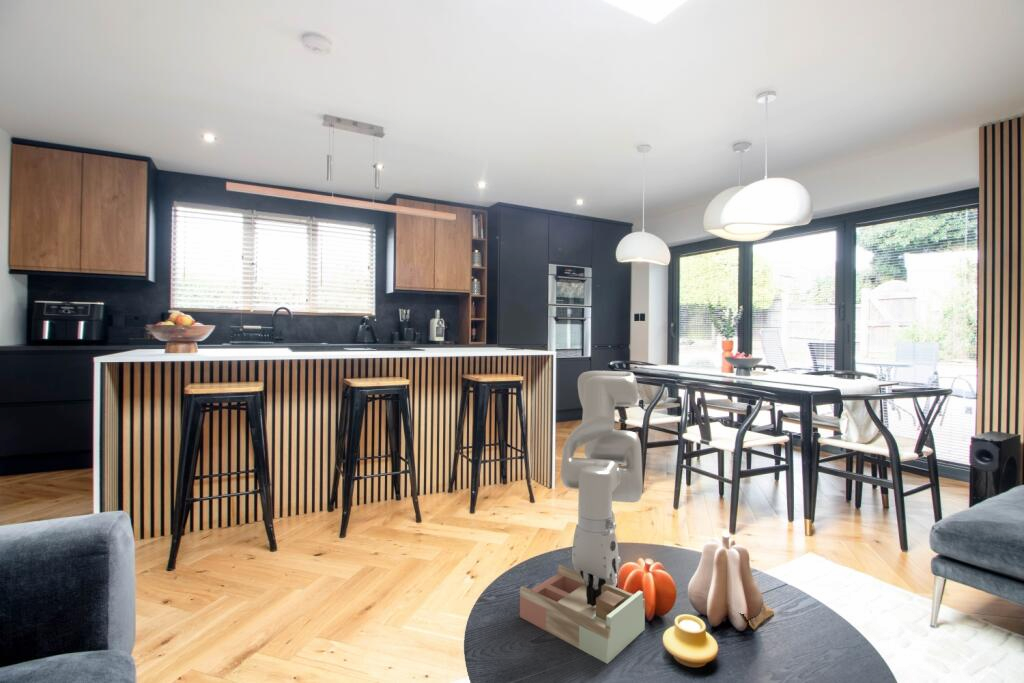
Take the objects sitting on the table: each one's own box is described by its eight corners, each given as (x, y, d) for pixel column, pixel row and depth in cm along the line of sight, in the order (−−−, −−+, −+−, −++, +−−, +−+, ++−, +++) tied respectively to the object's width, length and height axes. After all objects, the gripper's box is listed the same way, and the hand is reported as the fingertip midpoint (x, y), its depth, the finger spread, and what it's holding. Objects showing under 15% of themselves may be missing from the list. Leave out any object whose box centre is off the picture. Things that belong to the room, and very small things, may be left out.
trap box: (560, 591, 126) (560, 556, 126) (644, 629, 110) (645, 590, 110) (519, 616, 114) (520, 578, 114) (607, 663, 98) (608, 620, 98)
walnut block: (606, 607, 109) (607, 590, 109) (624, 615, 106) (624, 597, 106) (595, 616, 106) (596, 598, 106) (613, 624, 103) (613, 605, 103)
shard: (753, 633, 110) (753, 625, 110) (721, 617, 116) (721, 610, 116) (775, 616, 116) (775, 609, 116) (744, 602, 122) (744, 595, 122)
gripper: (632, 526, 107) (631, 609, 107) (577, 510, 117) (576, 585, 117) (615, 536, 101) (613, 623, 101) (558, 518, 112) (557, 597, 112)
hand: (593, 602), depth 109 cm, fingers closed
